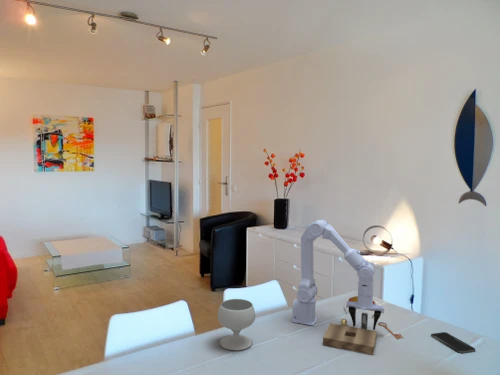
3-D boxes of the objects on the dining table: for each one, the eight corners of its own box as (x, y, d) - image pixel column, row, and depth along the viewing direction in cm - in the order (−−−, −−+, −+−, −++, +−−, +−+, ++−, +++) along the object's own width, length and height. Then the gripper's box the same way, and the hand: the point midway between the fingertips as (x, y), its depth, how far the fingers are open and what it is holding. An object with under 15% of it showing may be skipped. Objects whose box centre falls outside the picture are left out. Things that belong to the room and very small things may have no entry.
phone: (459, 352, 141) (429, 334, 155) (459, 355, 141) (429, 336, 155) (477, 349, 143) (445, 331, 158) (476, 352, 143) (445, 334, 158)
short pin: (340, 330, 159) (340, 320, 159) (341, 327, 161) (341, 318, 161) (346, 331, 158) (346, 321, 158) (347, 328, 161) (347, 319, 160)
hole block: (322, 345, 146) (323, 337, 146) (329, 330, 159) (330, 323, 159) (373, 355, 139) (373, 346, 139) (376, 338, 152) (376, 331, 152)
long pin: (360, 333, 156) (361, 314, 156) (361, 331, 158) (361, 312, 158) (366, 334, 155) (367, 315, 155) (367, 332, 158) (368, 313, 157)
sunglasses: (377, 307, 185) (378, 297, 184) (375, 324, 171) (376, 313, 170) (347, 303, 190) (347, 293, 189) (342, 318, 176) (342, 308, 175)
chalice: (209, 343, 146) (210, 304, 145) (236, 331, 156) (236, 295, 155) (236, 356, 136) (236, 315, 135) (262, 343, 147) (263, 304, 146)
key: (407, 340, 153) (389, 324, 167) (407, 338, 152) (389, 322, 167) (393, 340, 152) (376, 323, 167) (393, 337, 152) (376, 321, 167)
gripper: (345, 294, 155) (344, 327, 156) (384, 300, 149) (382, 334, 150) (348, 289, 161) (346, 321, 162) (385, 294, 156) (383, 327, 157)
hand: (364, 327), depth 157 cm, fingers open, 7 cm apart
